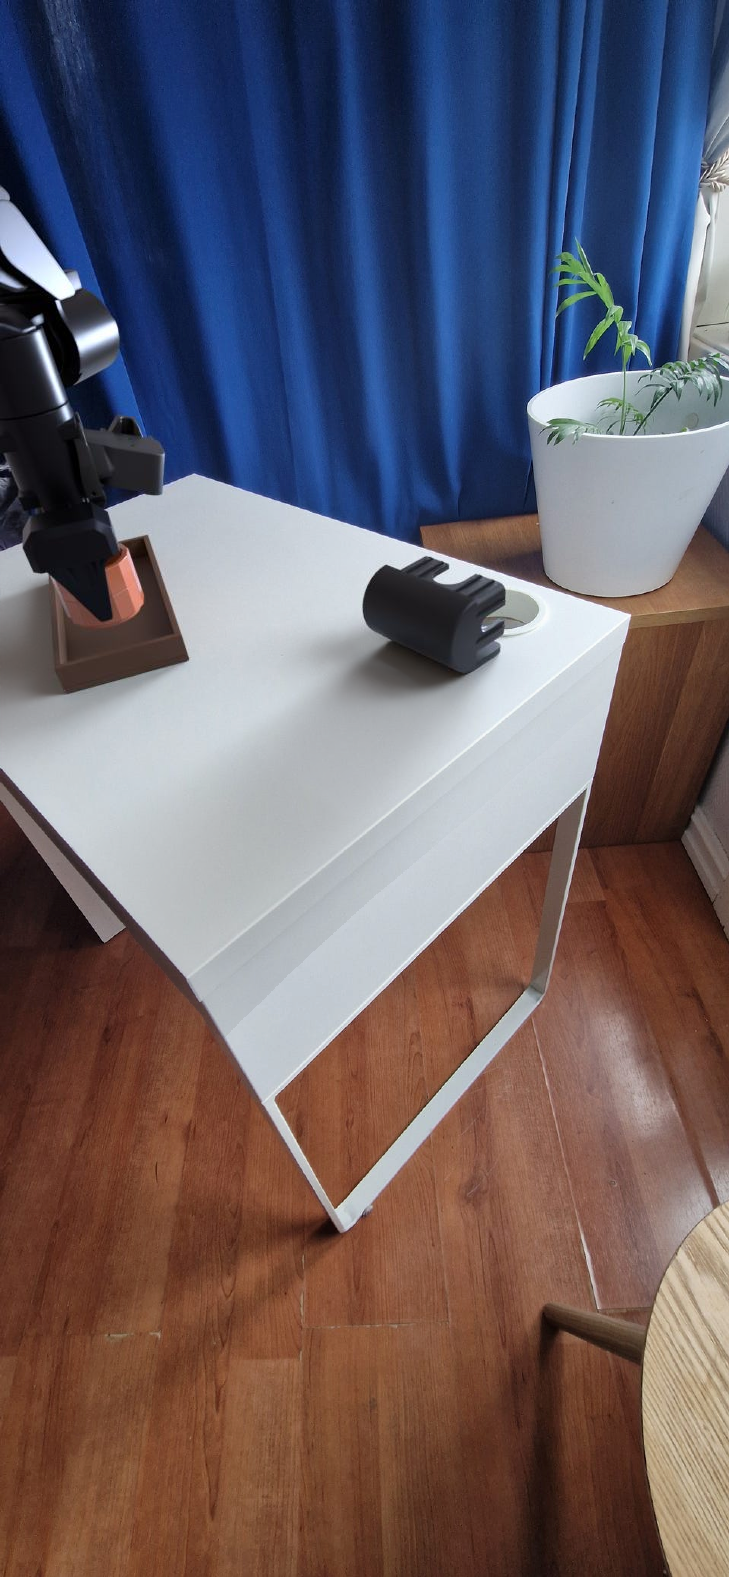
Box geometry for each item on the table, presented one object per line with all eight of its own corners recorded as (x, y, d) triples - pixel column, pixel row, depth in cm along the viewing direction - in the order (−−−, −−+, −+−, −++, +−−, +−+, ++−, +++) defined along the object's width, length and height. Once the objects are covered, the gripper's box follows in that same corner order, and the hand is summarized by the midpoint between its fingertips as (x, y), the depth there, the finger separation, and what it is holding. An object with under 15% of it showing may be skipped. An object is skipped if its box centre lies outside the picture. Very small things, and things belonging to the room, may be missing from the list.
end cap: (365, 649, 62) (357, 578, 57) (421, 616, 65) (417, 545, 60) (450, 692, 56) (449, 616, 51) (507, 653, 59) (511, 578, 54)
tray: (189, 660, 63) (181, 634, 61) (65, 694, 61) (53, 669, 59) (154, 556, 80) (147, 534, 78) (56, 580, 78) (47, 558, 76)
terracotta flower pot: (86, 640, 59) (63, 585, 56) (60, 612, 63) (37, 560, 60) (158, 611, 62) (140, 557, 58) (128, 586, 66) (109, 534, 62)
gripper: (154, 416, 46) (213, 627, 57) (126, 362, 59) (177, 541, 70) (-22, 453, 44) (73, 664, 55) (-11, 388, 57) (64, 568, 68)
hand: (103, 602), depth 62 cm, fingers closed on terracotta flower pot, 7 cm apart
